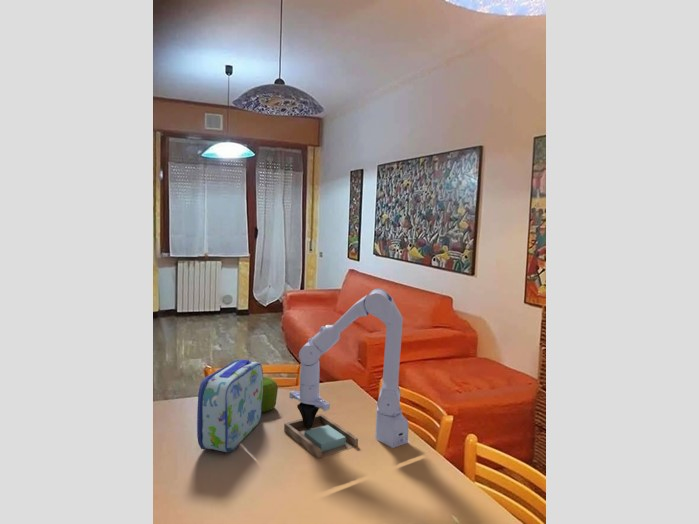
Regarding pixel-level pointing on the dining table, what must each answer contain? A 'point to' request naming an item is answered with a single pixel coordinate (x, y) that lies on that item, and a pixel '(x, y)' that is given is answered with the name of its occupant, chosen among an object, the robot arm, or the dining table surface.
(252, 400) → the lunch box
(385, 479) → the dining table surface
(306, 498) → the dining table surface
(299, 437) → the box
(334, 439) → the teal square tile
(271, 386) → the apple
